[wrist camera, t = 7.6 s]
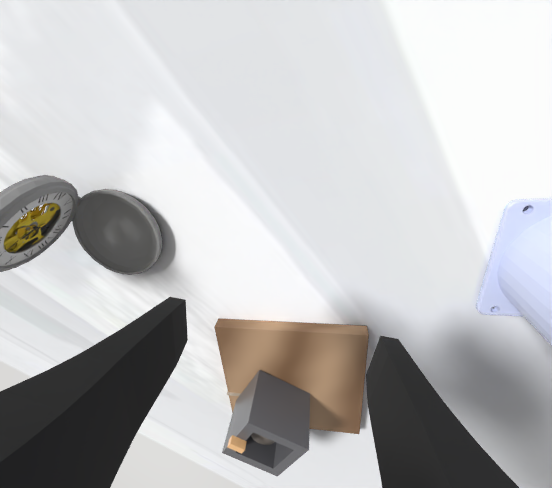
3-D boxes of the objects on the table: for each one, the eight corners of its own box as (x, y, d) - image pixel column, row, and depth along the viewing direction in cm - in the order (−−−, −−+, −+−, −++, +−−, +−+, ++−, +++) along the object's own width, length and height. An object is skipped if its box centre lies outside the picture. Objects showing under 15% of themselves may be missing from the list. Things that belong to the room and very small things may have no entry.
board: (366, 325, 22) (376, 375, 18) (358, 423, 27) (364, 478, 23) (217, 318, 24) (196, 361, 20) (235, 410, 29) (222, 459, 25)
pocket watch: (171, 272, 23) (72, 381, 14) (75, 261, 24) (-75, 356, 15) (155, 167, 19) (6, 224, 10) (42, 159, 20) (-185, 205, 11)
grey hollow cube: (310, 393, 25) (308, 458, 20) (283, 421, 27) (276, 485, 23) (256, 368, 24) (242, 429, 20) (233, 398, 27) (216, 459, 22)
